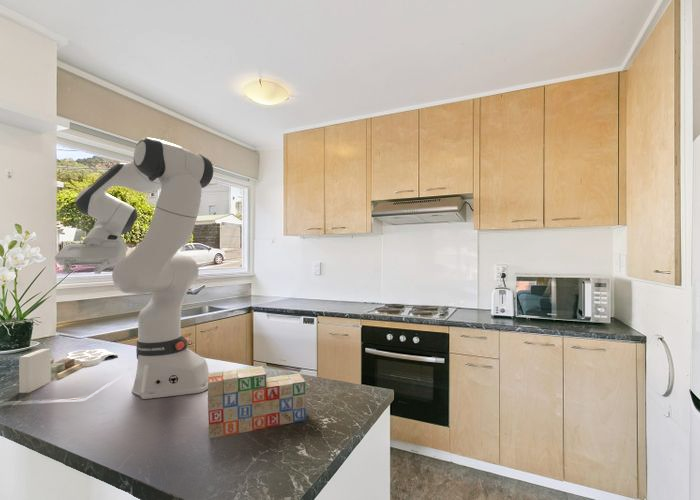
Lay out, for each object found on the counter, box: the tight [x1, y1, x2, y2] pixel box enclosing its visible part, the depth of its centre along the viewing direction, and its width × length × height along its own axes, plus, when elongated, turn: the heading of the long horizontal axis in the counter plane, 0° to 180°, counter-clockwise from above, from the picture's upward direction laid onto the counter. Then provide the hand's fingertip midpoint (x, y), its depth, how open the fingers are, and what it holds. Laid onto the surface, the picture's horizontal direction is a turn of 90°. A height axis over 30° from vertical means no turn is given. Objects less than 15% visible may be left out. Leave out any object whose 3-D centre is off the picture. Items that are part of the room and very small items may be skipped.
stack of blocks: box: [207, 365, 307, 439], centre depth 81 cm, size 21×6×12 cm, turn 110°
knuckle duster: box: [66, 348, 119, 368], centre depth 127 cm, size 3×18×15 cm
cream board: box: [18, 348, 52, 394], centre depth 102 cm, size 8×2×11 cm, turn 5°
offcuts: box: [51, 358, 75, 380], centre depth 113 cm, size 8×4×4 cm, turn 5°
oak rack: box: [51, 358, 83, 381], centre depth 113 cm, size 10×10×4 cm
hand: (81, 272), depth 115 cm, fingers open, 8 cm apart
